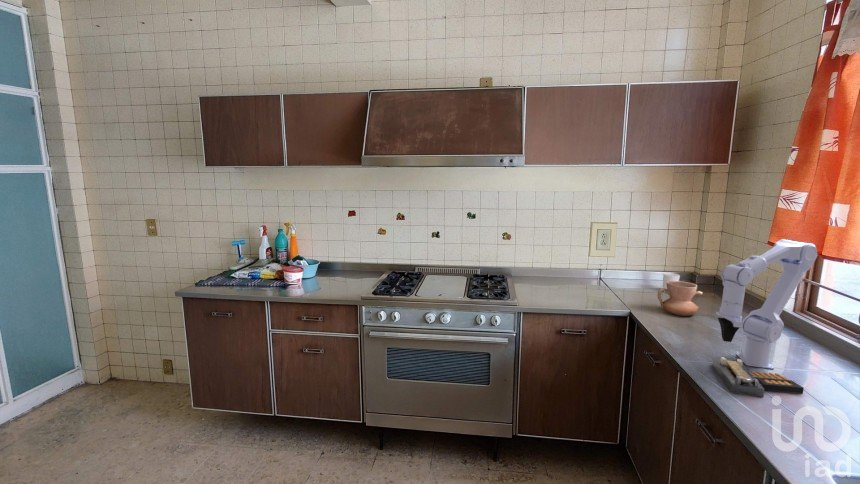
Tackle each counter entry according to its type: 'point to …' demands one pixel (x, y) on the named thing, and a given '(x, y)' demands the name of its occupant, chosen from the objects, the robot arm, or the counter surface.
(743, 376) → the tan long flat bar
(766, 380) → the ammunition clip
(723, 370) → the block
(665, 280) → the white cup
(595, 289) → the counter surface
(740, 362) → the lug
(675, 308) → the ceramic jug
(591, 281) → the counter surface
